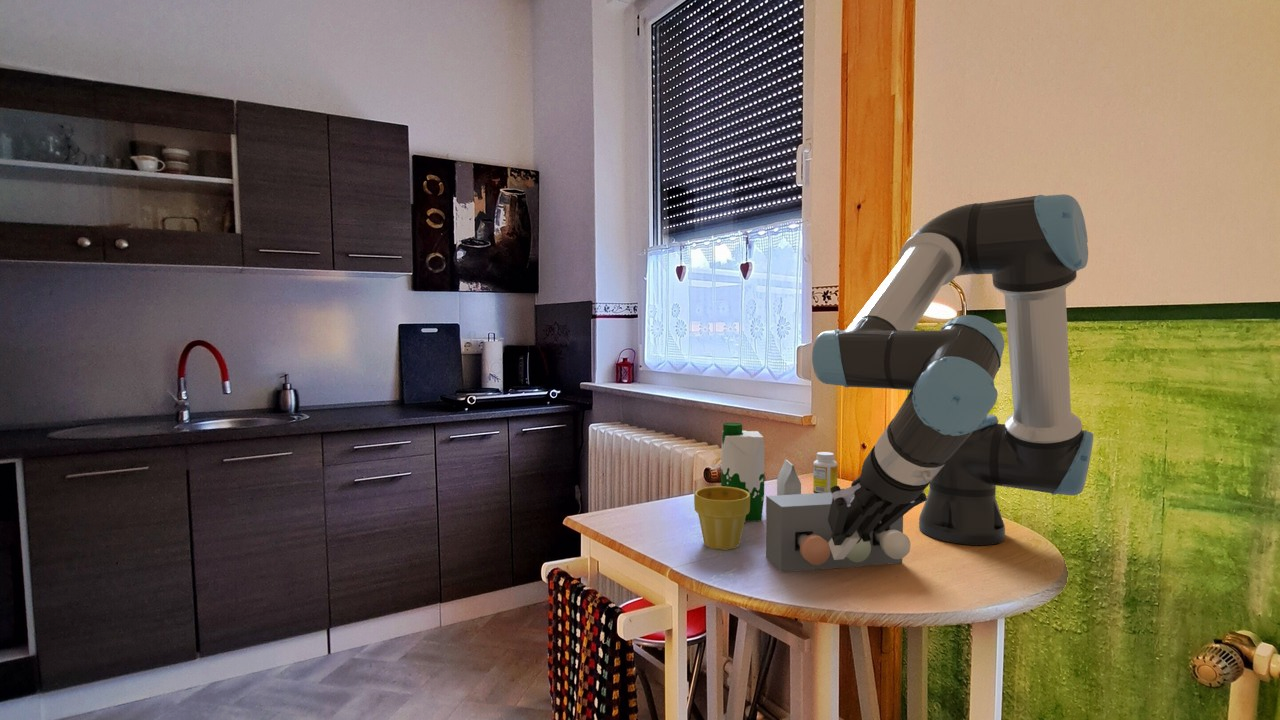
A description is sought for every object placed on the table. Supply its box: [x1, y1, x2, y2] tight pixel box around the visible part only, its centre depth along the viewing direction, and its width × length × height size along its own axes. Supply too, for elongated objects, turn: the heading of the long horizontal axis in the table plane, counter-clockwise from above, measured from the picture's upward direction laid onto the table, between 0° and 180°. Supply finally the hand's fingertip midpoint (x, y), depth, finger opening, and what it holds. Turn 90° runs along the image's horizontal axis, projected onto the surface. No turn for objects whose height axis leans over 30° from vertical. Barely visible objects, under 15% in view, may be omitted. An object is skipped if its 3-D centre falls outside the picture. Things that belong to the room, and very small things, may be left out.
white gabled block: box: [776, 459, 802, 495], centre depth 147 cm, size 4×7×10 cm, turn 2°
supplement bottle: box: [812, 451, 838, 494], centre depth 156 cm, size 6×6×10 cm
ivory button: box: [873, 529, 912, 560], centre depth 108 cm, size 4×6×4 cm
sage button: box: [846, 539, 871, 562], centre depth 107 cm, size 4×6×4 cm
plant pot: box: [693, 485, 750, 551], centre depth 121 cm, size 10×10×10 cm
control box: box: [765, 493, 904, 573], centre depth 113 cm, size 22×7×11 cm, turn 100°
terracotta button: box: [796, 533, 830, 565], centre depth 106 cm, size 4×6×4 cm
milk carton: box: [720, 422, 765, 522], centre depth 139 cm, size 9×9×20 cm
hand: (835, 550), depth 96 cm, fingers closed
